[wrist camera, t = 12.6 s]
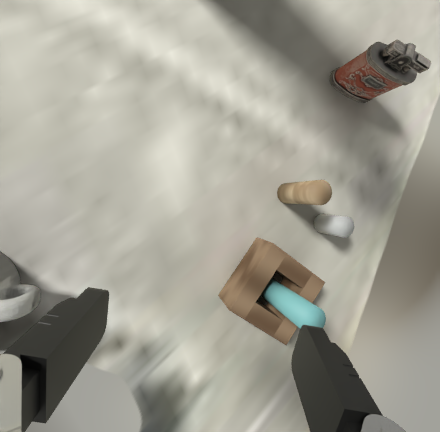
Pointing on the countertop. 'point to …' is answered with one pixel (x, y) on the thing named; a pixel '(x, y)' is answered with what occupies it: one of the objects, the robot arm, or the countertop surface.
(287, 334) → the walnut block
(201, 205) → the countertop surface
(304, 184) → the beech pin
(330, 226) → the grey pin
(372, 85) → the lighter
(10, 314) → the coffee mug
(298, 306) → the teal pin
